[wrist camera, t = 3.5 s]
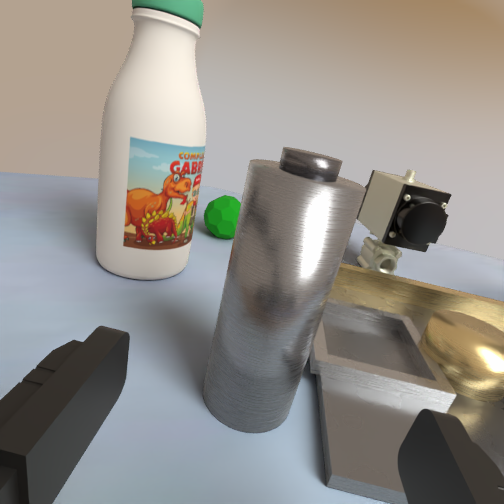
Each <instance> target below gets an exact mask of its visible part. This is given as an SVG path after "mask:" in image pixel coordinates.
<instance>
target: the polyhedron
mask: <svg viewBox="0 0 504 504" xmlns="http://www.w3.org/2000/svg"><path fill="white" fill-rule="evenodd" d="M240 207H241V203H240V202H239V201H238V200H237V199H236V198H234V197H231V196H226V195H224V196H222V197H219V198H217V199H215V200H213V201H211V202H210V203H209V204H208V206H207V208H206V210H205V213H204V221H205V226H206V227H207V228H208V229H209V230H210V231H211V232H212V233H213V234H214V235H215V236H216V237H217V238H222V239H230V238H233V237H234V236H235V231H236V226H237V221H238V216H239V211H240Z"/></svg>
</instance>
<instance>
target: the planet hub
mask: <svg viewBox="0 0 504 504" xmlns="http://www.w3.org/2000/svg"><path fill="white" fill-rule="evenodd" d="M341 164H342V161H341V160H339V159H335V158H332V157H329V156H325V155H322V154H317V153H313V152H309V151H305V150H300V149H295V148H289V147H284V148H283V151H282V156H281V160H280V162H277V161H270V160H258V159H256V160H251V161H250V163H249V168H248V173H247V178H246V182H245V187H244V192H243V197H242V202H241V207H240V211H239V216H238V221H237V226H236V231H235V236H234V240H233V245H232V250H231V255H230V260H229V265H228V270H227V274H226V279H225V284H224V289H223V294H222V299H221V304H220V308H219V313H218V318H217V323H216V328H215V333H214V337H213V342H212V347H211V352H210V357H209V362H208V367H207V371H206V376H205V381H204V386H203V396H204V400H205V403H206V405H207V407H208V409H209V410H210V412H211V413H212V414H213V415H214V416H215V417H216V418H217V419H218V420H219V421H220V422H222V423H223V424H225V425H227V426H228V427H230V428H233V429H235V430H238V431H241V432H246V433H262V432H267V431H270V430H273V429H275V428H277V427H278V426H280V425H281V424H282V423H283V422H284V421H285V419H286V418H287V416H288V414H289V411H290V408H291V405H292V402H293V400H294V397H295V394H296V391H297V388H298V385H299V382H300V379H301V376H302V374H303V371H304V368H305V365H306V362H307V359H308V356H309V353H310V350H311V348H312V345H313V342H314V339H315V336H316V333H317V330H318V327H319V324H320V322H321V319H322V316H323V313H324V310H325V307H326V304H327V301H328V299H329V296H330V293H331V290H332V287H333V284H334V281H335V278H336V275H337V273H338V270H339V267H340V264H341V261H342V258H343V255H344V252H345V249H346V247H347V244H348V241H349V238H350V235H351V232H352V229H353V226H354V223H355V221H356V218H357V215H358V212H359V209H360V206H361V203H362V200H363V197H364V195H365V192H366V188H365V187H363V186H361V185H360V184H358V183H355V182H353V181H350V180H348V179H345V178H342V177H339V176H338V174H339V171H340V167H341Z"/></svg>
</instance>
